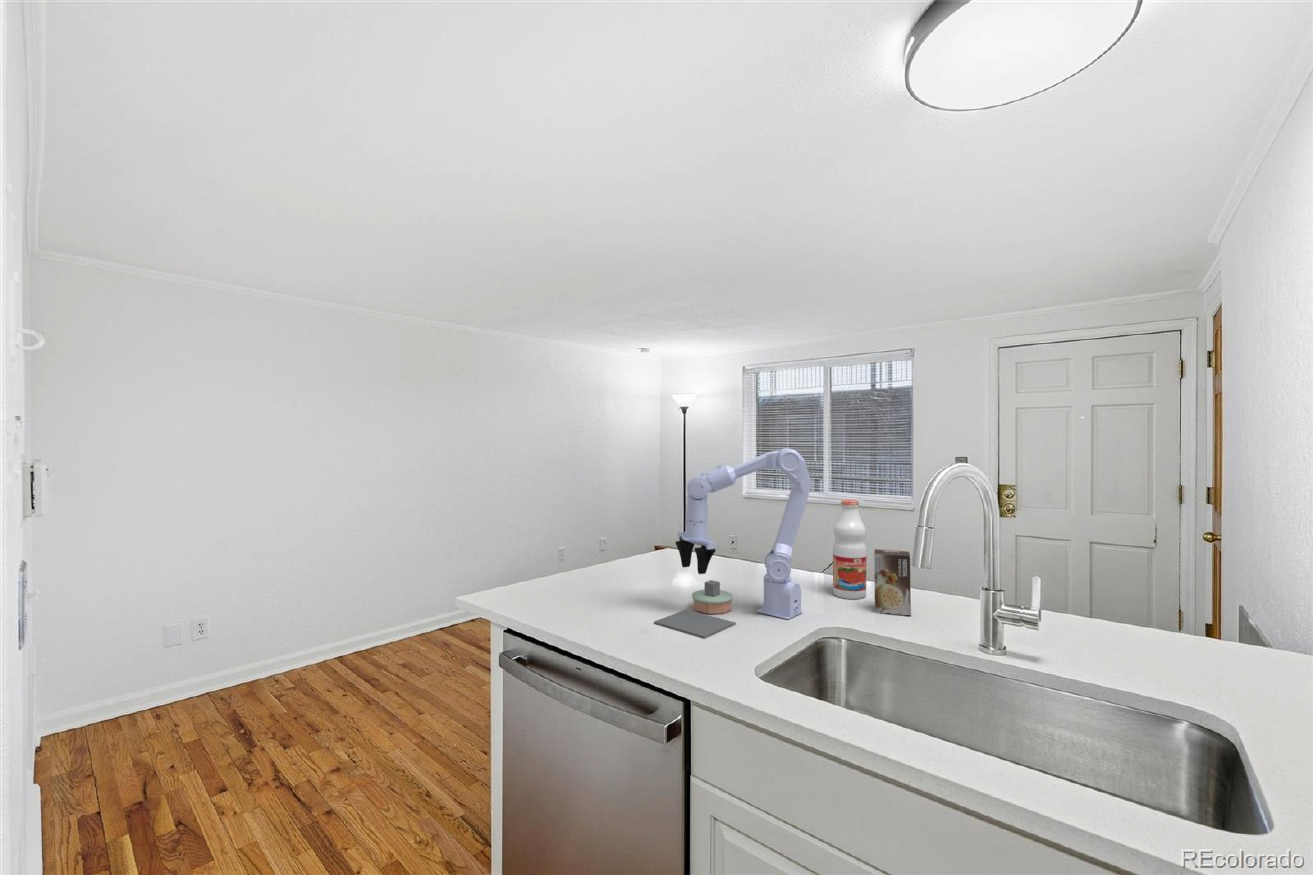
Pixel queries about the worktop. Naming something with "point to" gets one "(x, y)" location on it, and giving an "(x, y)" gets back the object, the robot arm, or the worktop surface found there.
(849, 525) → the fruit juice
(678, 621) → the mat
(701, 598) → the lid
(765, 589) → the robot arm
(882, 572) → the coffee box
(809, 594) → the worktop surface
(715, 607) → the bowl
